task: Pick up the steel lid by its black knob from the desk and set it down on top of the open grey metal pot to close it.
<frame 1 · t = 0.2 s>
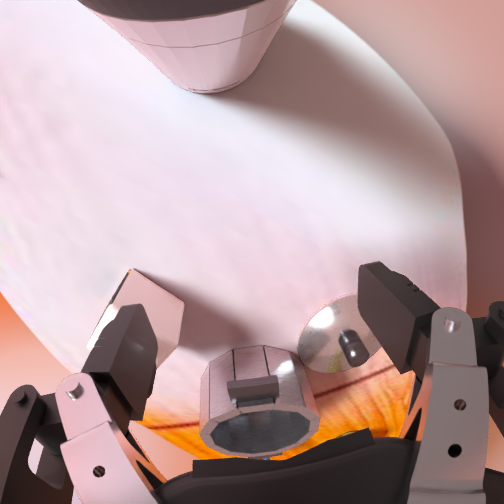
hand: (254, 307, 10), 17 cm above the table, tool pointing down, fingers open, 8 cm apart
medicine bottle: (143, 304, 30), on the table
pot: (253, 381, 36), on the table
lid: (345, 333, 35), on the table
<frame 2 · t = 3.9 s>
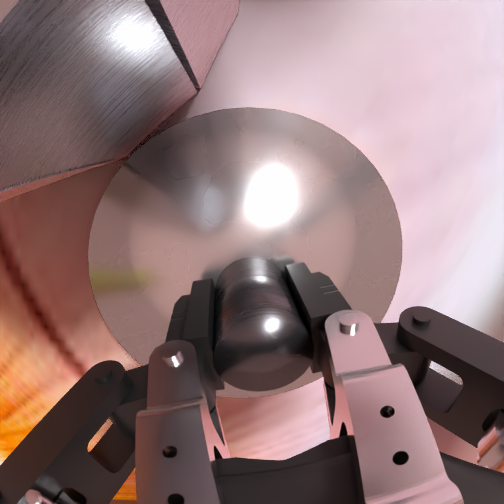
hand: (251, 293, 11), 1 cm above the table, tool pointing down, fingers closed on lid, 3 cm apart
pot: (71, 26, 7), on the table
lid: (249, 278, 12), on the table, touching gripper
when the fingers open (11 cm above the table, at t = 8.0 s): lid stays where it is, resting on pot.
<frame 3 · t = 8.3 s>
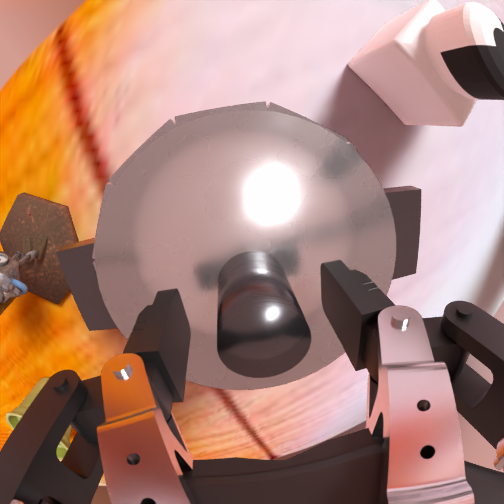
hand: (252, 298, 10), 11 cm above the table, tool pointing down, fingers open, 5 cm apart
robot figurine: (43, 247, 20), on the table
medicine bottle: (395, 71, 17), on the table
plant pot: (58, 390, 27), on the table
pot: (237, 218, 21), on the table
lid: (249, 272, 12), point 9 cm above the table, touching pot
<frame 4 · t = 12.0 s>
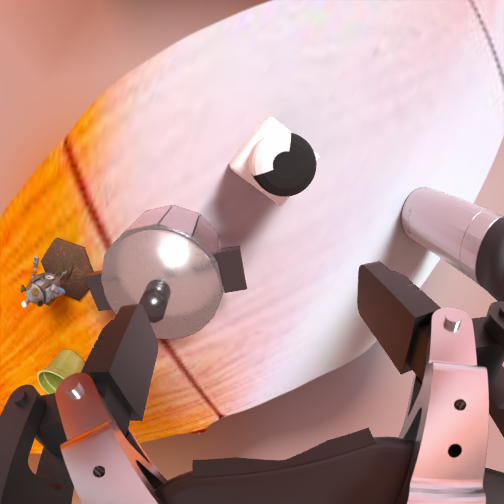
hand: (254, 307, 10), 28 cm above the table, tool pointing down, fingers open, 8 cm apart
robot figurine: (70, 268, 38), on the table
medicine bottle: (266, 158, 35), on the table
plant pot: (73, 359, 45), on the table
pot: (171, 255, 38), on the table
lid: (160, 286, 30), point 9 cm above the table, touching pot
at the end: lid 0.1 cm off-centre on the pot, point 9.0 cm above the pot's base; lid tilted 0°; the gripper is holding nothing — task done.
